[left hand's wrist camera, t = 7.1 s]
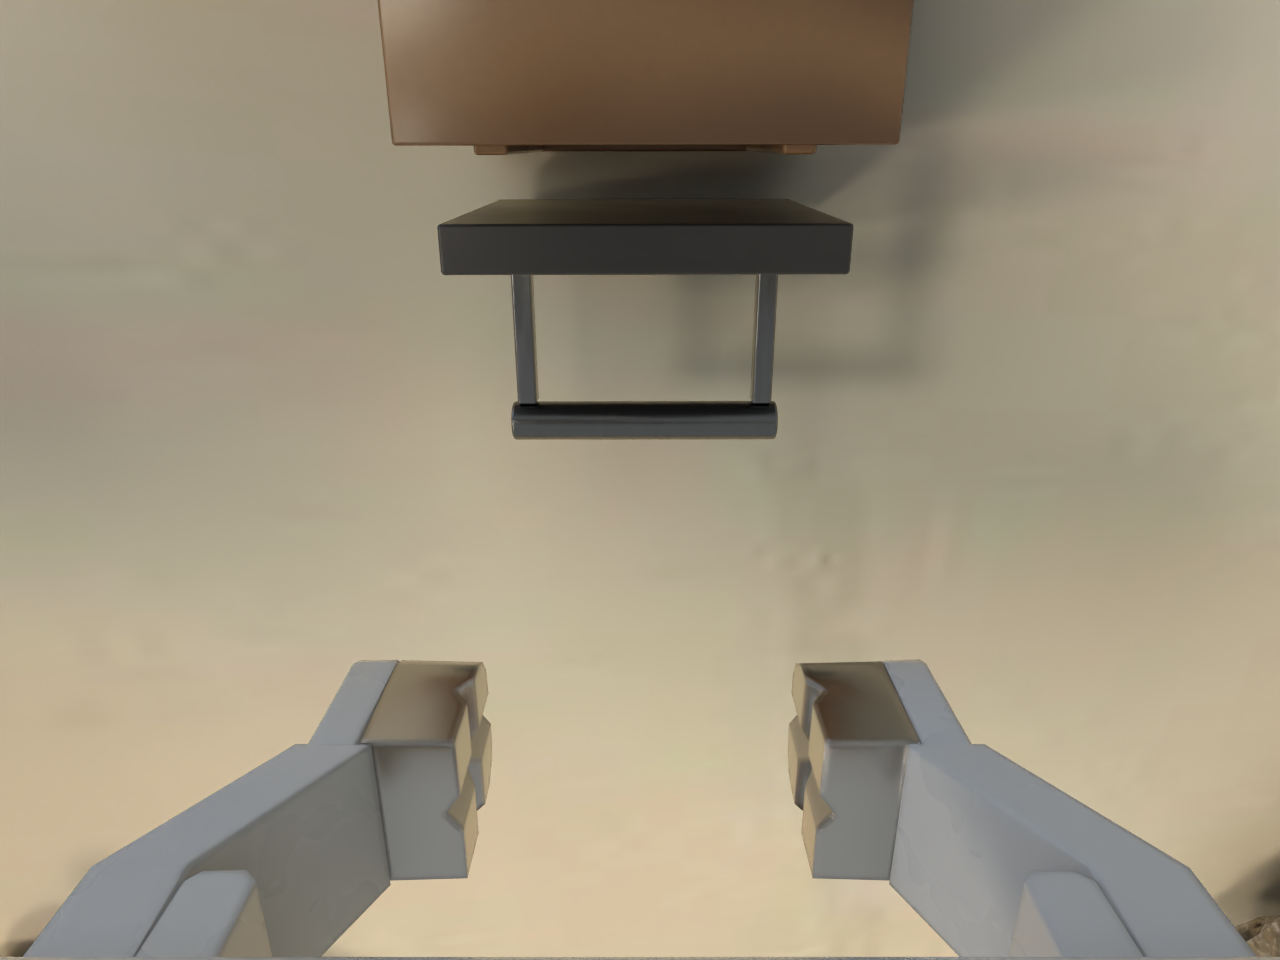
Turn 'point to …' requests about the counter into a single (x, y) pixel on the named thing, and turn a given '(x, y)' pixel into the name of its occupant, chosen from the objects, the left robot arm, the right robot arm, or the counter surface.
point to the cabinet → (645, 71)
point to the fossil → (1262, 936)
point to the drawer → (644, 246)
